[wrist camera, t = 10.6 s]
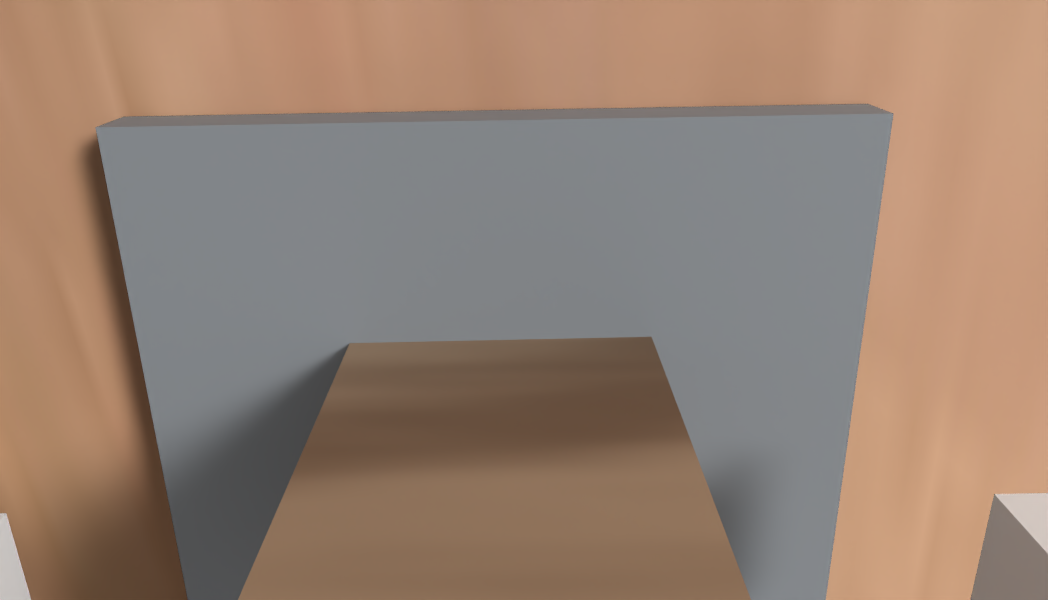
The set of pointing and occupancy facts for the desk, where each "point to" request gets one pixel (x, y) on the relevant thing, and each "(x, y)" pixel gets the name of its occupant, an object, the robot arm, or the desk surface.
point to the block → (498, 481)
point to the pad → (503, 287)
